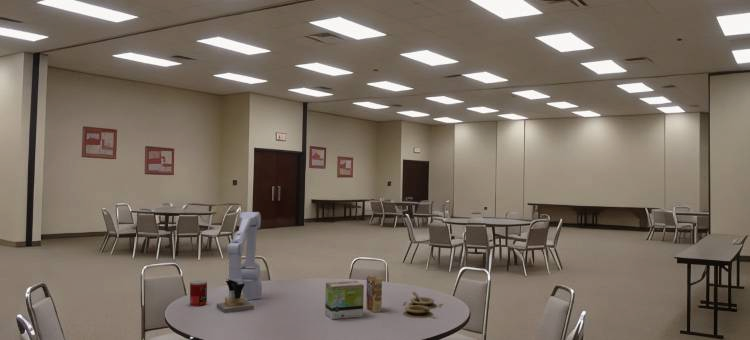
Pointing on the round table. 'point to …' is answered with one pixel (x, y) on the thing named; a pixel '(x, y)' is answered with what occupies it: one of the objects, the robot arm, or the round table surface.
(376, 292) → the candy box
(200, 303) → the canned food
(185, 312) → the round table surface
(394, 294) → the round table surface
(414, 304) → the tableware set
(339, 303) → the tea box
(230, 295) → the grey block
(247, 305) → the dock
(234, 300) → the pallet
